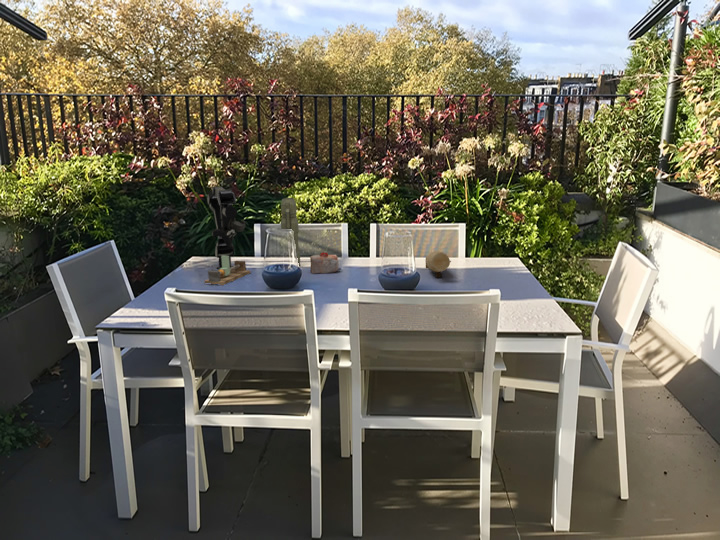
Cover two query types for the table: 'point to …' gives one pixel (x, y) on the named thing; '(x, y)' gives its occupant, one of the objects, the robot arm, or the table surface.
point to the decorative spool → (437, 262)
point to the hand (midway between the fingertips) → (229, 247)
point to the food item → (324, 263)
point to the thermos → (290, 219)
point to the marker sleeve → (225, 265)
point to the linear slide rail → (235, 273)
